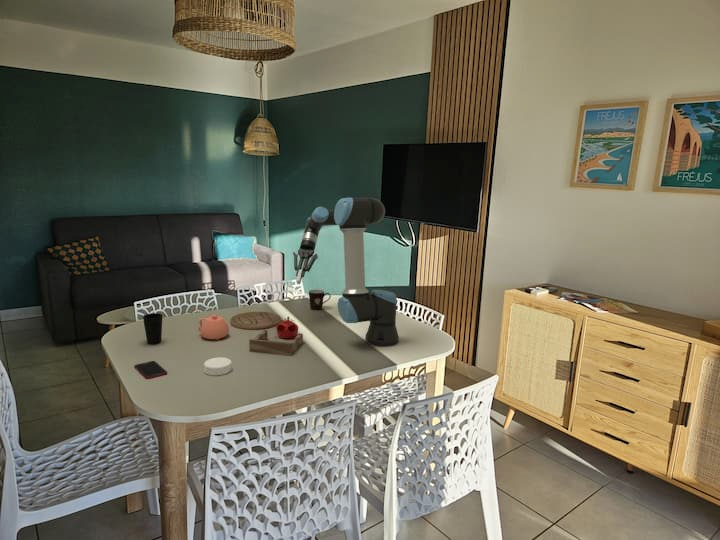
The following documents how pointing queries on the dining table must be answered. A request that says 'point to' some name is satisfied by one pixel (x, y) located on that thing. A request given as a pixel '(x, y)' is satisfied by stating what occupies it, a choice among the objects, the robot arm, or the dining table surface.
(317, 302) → the coffee mug
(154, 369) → the cell phone
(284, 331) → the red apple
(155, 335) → the cup
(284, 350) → the walnut pocket
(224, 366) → the white round disc
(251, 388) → the dining table surface
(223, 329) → the sugar bowl
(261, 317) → the trivet
